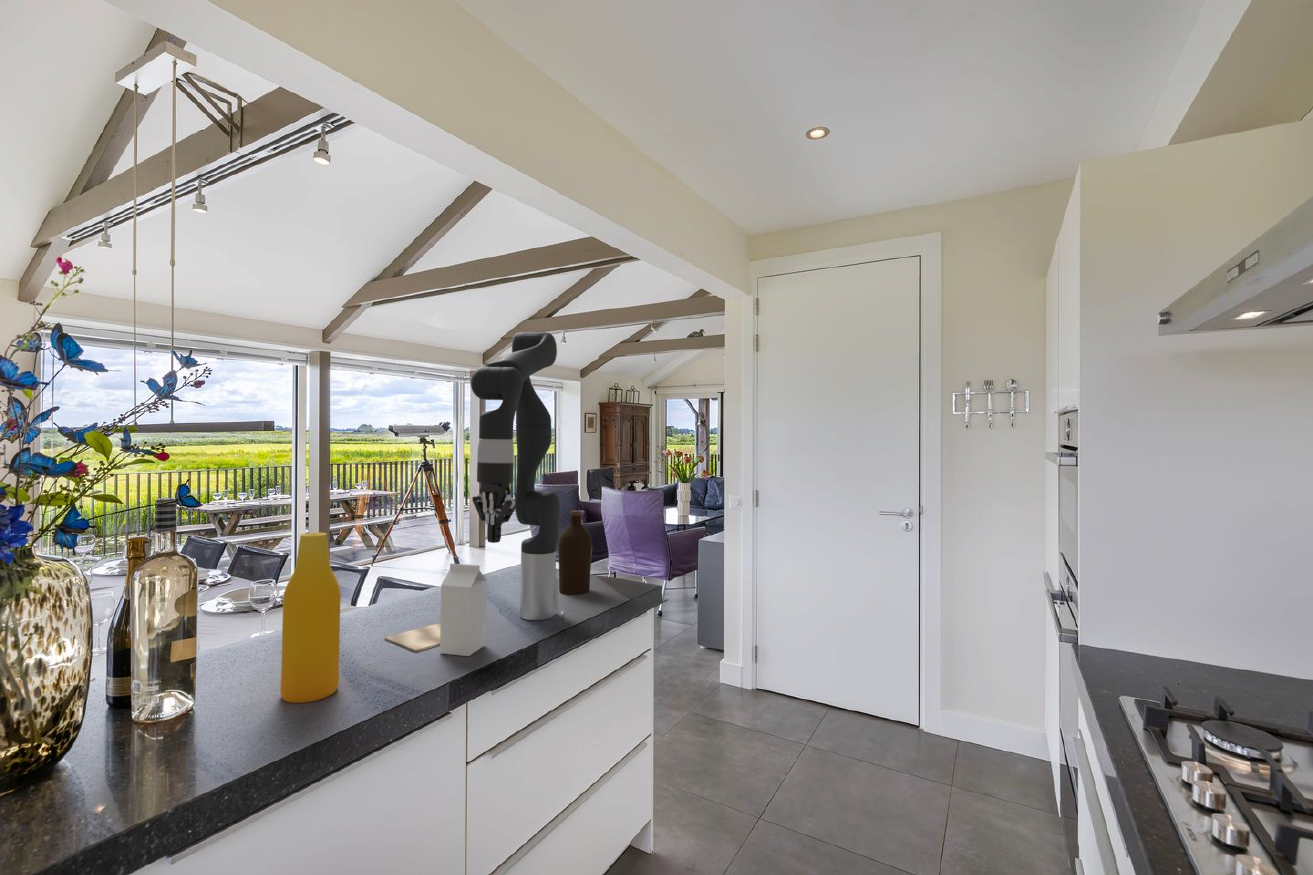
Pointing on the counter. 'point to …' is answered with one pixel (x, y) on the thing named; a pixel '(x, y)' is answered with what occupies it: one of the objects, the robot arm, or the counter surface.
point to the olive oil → (574, 557)
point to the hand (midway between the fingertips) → (493, 542)
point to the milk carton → (463, 610)
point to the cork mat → (418, 638)
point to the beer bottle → (311, 625)
